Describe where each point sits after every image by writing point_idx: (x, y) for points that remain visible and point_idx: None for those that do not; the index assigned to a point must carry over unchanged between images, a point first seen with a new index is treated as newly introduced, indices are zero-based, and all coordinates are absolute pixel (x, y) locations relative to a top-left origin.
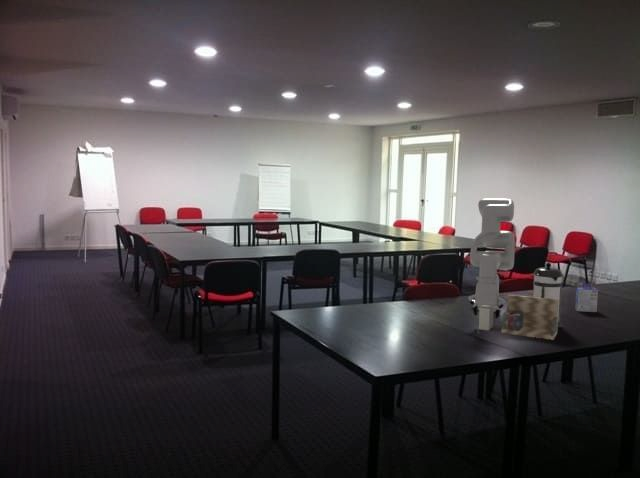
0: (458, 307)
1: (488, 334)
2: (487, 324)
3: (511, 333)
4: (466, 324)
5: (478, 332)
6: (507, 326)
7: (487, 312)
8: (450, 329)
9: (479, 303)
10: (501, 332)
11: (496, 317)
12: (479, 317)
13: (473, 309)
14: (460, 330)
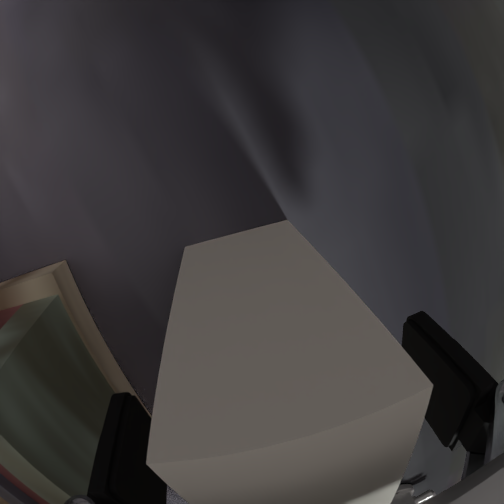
0: (465, 449)
1: (106, 103)
2: (196, 269)
3: (3, 283)
4: (424, 277)
5: (221, 89)
6: (9, 319)
7: (197, 385)
8: (446, 43)
9: (487, 484)
10: (61, 261)
11: (114, 398)
12: (331, 273)
13: (478, 363)
14: (387, 50)
